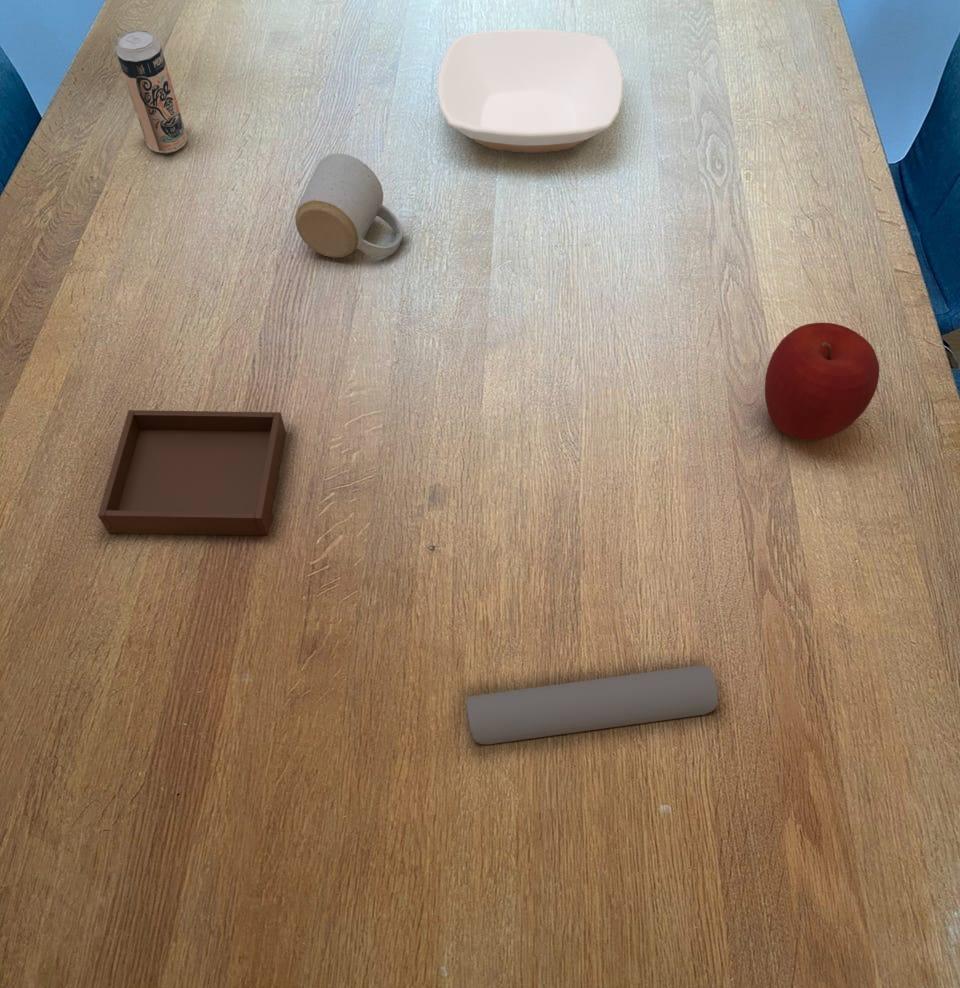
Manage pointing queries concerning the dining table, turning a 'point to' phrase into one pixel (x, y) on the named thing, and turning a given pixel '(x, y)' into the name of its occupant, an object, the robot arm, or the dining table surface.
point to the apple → (820, 380)
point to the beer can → (151, 91)
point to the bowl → (530, 88)
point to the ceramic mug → (343, 209)
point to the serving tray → (194, 473)
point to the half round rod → (591, 704)
